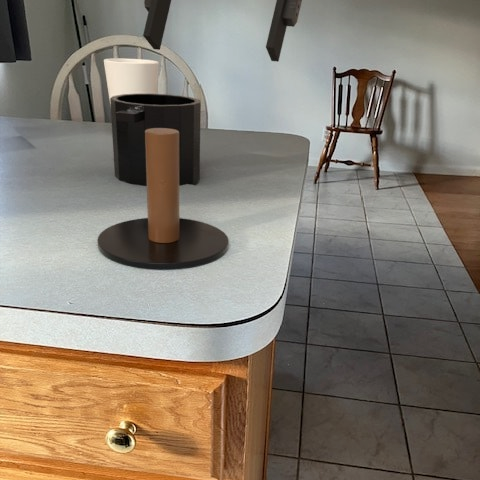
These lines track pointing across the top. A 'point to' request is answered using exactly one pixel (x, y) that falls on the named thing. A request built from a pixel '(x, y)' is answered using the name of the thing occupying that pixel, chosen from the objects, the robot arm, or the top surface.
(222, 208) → the top surface
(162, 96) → the pot
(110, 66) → the cup
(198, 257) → the lid
